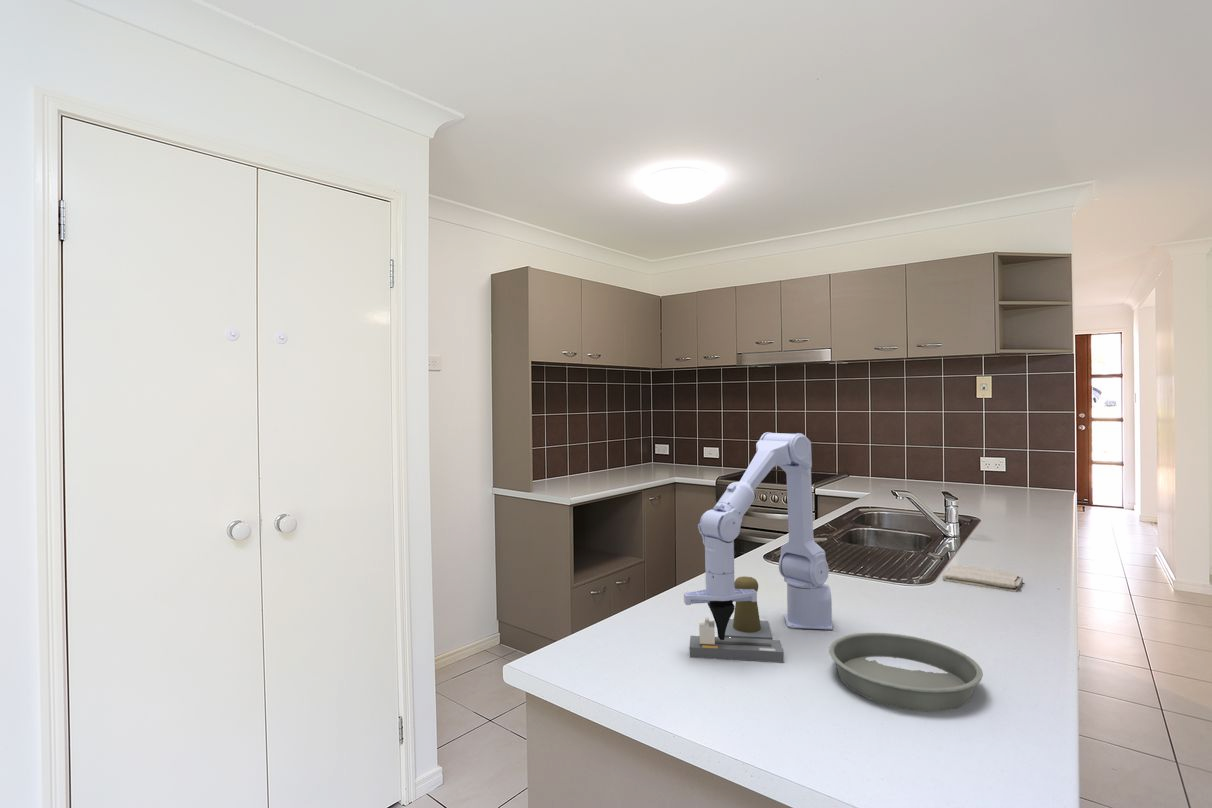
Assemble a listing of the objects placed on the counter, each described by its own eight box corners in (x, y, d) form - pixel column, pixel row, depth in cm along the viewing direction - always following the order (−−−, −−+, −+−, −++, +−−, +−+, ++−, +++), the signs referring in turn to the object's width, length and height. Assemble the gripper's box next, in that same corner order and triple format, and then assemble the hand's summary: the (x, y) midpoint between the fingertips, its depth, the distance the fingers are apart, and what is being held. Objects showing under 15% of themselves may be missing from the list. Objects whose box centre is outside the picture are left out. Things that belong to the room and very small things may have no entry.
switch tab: (714, 637, 124) (714, 618, 124) (714, 644, 121) (714, 624, 121) (699, 636, 125) (699, 617, 125) (699, 643, 121) (699, 623, 121)
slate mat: (768, 622, 138) (768, 620, 138) (772, 640, 128) (772, 637, 128) (723, 620, 140) (723, 618, 140) (724, 637, 130) (724, 635, 130)
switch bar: (780, 649, 123) (780, 639, 123) (783, 662, 117) (783, 651, 117) (690, 645, 126) (690, 635, 126) (689, 657, 120) (689, 646, 120)
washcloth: (1019, 595, 156) (1019, 583, 156) (941, 582, 168) (941, 571, 168) (1023, 584, 166) (1023, 572, 166) (949, 573, 177) (949, 562, 177)
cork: (761, 633, 131) (760, 582, 131) (732, 631, 132) (731, 581, 132) (760, 623, 137) (759, 574, 137) (733, 621, 138) (732, 573, 138)
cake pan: (1019, 703, 101) (1018, 676, 101) (897, 728, 94) (896, 699, 94) (906, 647, 124) (906, 625, 124) (802, 663, 117) (801, 640, 117)
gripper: (748, 563, 127) (749, 628, 127) (679, 566, 125) (681, 632, 125) (760, 573, 120) (761, 641, 120) (687, 576, 118) (689, 646, 118)
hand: (720, 638), depth 122 cm, fingers closed
